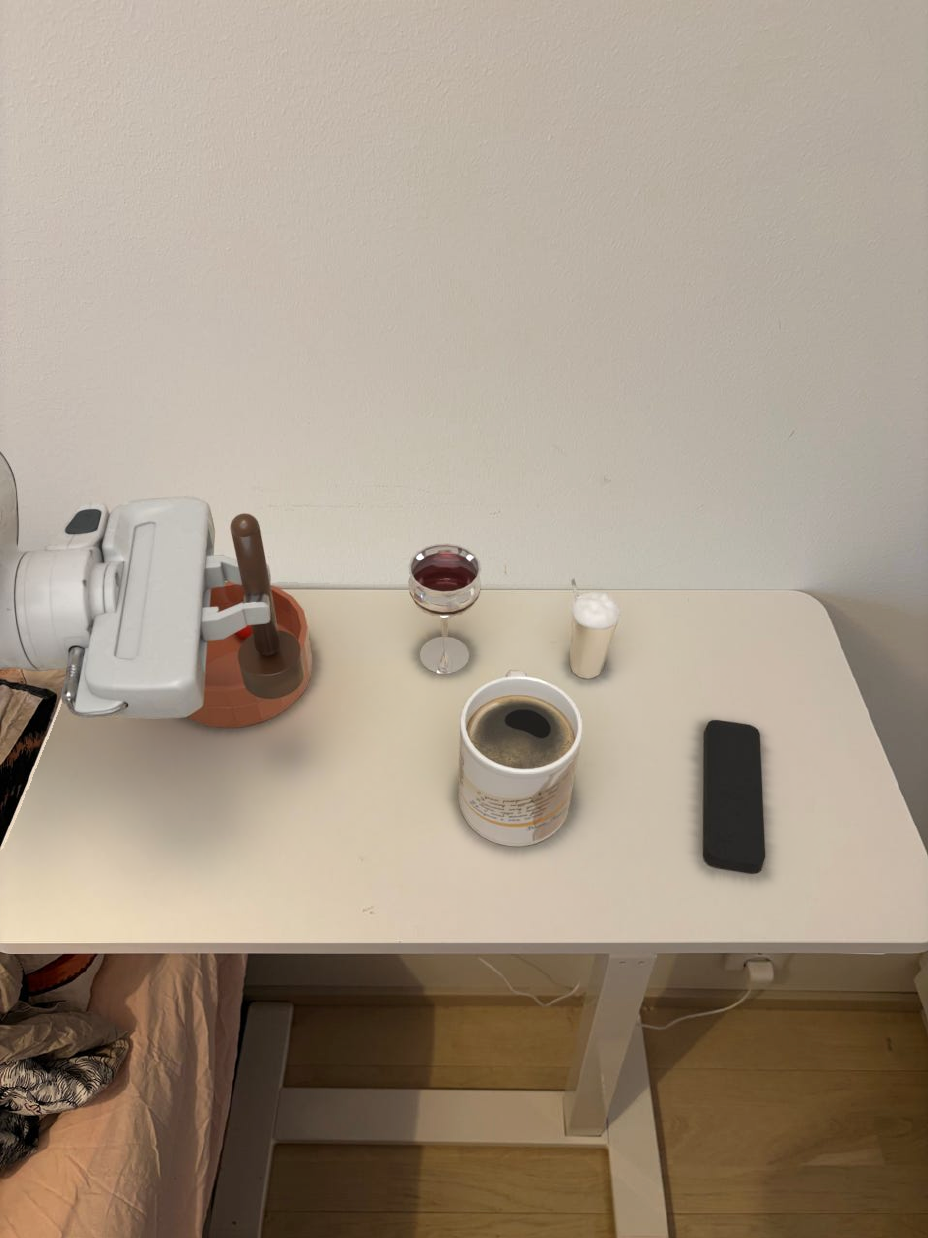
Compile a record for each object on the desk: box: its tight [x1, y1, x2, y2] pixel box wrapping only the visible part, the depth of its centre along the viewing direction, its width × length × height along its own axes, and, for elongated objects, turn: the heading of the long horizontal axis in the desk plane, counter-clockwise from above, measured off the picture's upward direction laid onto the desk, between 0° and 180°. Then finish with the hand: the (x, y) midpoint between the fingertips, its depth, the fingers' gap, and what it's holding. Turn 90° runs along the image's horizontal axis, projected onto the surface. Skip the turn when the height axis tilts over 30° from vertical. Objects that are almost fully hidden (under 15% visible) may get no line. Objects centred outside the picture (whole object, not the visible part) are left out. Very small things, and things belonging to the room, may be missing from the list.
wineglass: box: [408, 543, 482, 675], centre depth 90 cm, size 7×7×12 cm
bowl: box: [186, 581, 313, 729], centre depth 90 cm, size 14×14×6 cm
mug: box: [458, 669, 584, 847], centre depth 79 cm, size 10×12×11 cm
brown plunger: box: [229, 512, 305, 699], centre depth 71 cm, size 5×5×17 cm
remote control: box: [702, 719, 766, 874], centre depth 82 cm, size 5×2×15 cm
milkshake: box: [569, 578, 621, 680], centre depth 90 cm, size 5×5×10 cm
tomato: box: [234, 625, 253, 639], centre depth 93 cm, size 3×3×3 cm
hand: (269, 591), depth 70 cm, fingers closed on brown plunger
